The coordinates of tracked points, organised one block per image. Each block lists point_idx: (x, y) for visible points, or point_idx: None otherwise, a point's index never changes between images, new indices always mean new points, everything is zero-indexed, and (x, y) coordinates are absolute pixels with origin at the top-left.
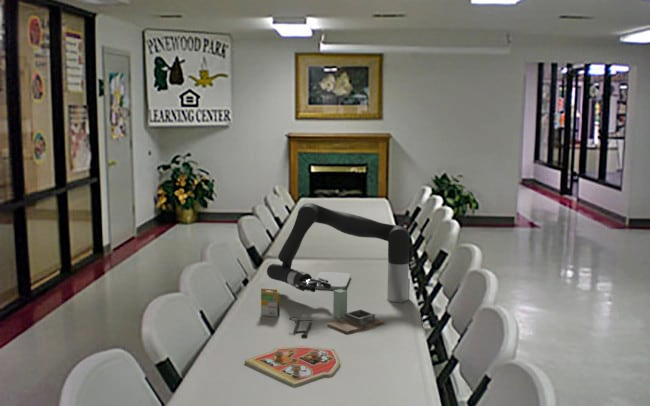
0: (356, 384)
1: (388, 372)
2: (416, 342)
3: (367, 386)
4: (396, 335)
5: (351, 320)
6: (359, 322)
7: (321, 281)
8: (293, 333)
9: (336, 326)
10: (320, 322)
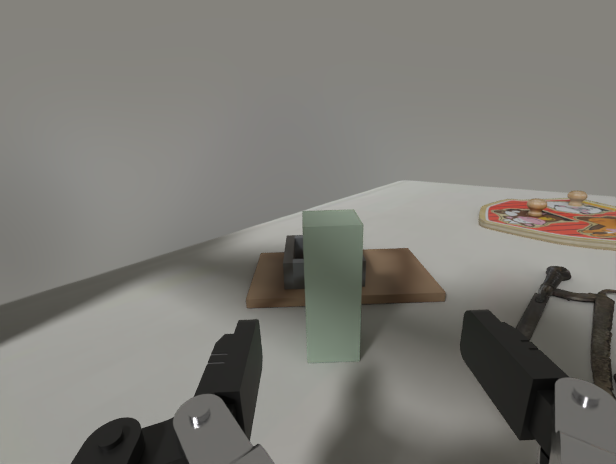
0: (474, 193)
1: (415, 196)
2: (302, 214)
3: (460, 191)
4: None
5: None
6: None
7: (240, 441)
8: (609, 289)
9: (421, 270)
10: (461, 332)
